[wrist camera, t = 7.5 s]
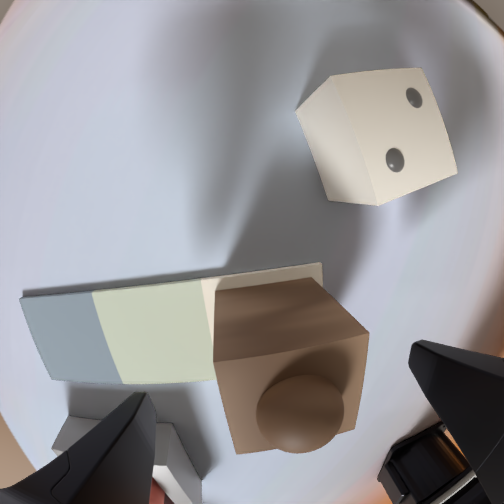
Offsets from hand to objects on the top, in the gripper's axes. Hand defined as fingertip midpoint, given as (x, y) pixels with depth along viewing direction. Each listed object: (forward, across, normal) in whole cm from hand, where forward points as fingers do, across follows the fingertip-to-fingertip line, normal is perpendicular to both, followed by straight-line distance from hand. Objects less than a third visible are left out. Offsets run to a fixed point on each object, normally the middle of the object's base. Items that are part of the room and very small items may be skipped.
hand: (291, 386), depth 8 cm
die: (+4, -4, -8) cm, 10 cm away
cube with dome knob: (+4, 0, 0) cm, 4 cm away
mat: (+4, +5, 0) cm, 7 cm away
